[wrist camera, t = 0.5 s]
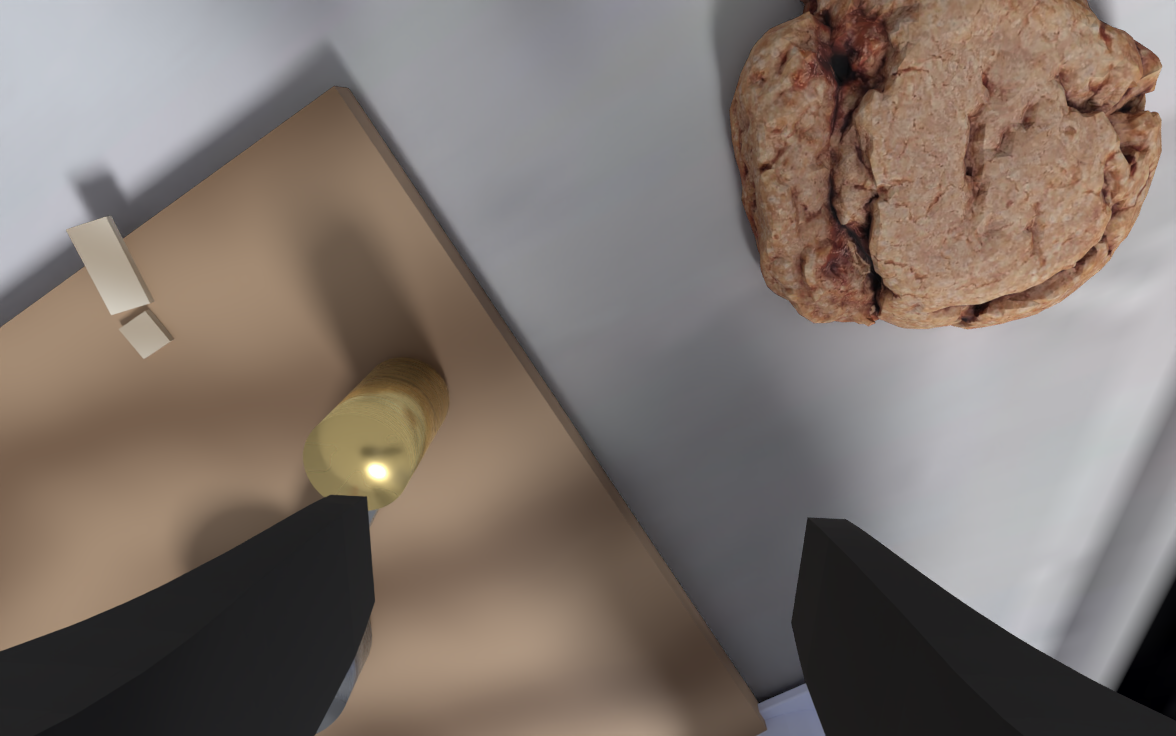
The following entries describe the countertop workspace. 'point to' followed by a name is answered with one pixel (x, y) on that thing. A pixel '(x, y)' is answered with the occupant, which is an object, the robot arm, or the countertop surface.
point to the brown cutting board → (289, 414)
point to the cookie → (942, 156)
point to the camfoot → (375, 454)
